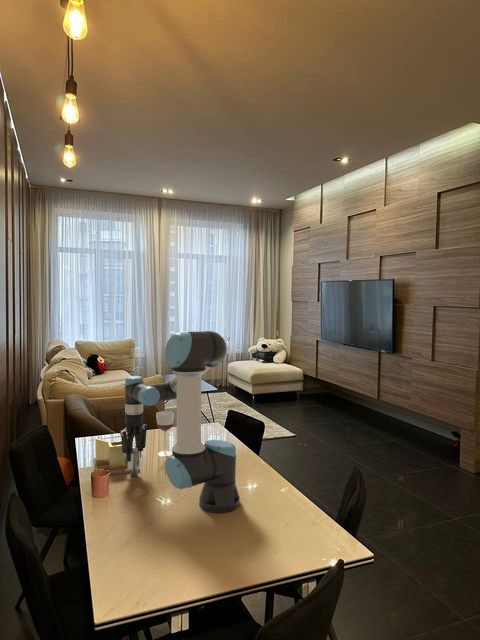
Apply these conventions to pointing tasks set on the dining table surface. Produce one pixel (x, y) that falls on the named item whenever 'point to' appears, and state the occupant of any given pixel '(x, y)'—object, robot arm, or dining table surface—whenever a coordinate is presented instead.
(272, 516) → the dining table surface
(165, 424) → the wineglass
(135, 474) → the pin
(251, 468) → the dining table surface
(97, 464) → the board
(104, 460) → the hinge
